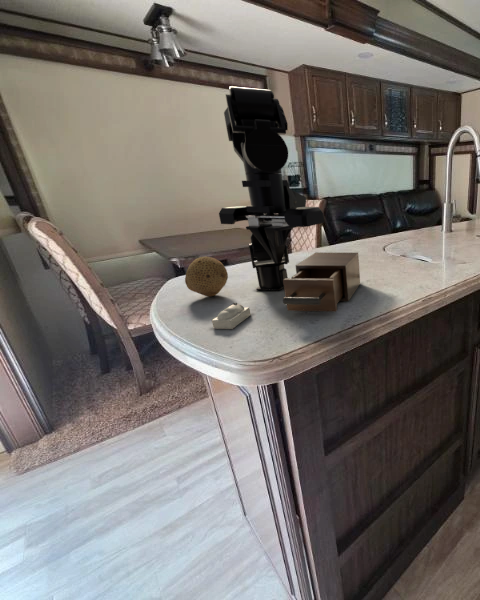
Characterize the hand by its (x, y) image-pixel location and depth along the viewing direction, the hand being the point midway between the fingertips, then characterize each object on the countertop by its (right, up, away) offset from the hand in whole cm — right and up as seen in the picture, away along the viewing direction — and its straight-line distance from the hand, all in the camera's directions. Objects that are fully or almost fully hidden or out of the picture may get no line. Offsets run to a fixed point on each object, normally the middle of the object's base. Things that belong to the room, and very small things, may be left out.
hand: (278, 262), depth 60 cm
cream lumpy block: (-11, -11, +4) cm, 16 cm away
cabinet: (+6, -5, +20) cm, 22 cm away
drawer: (+5, -8, +10) cm, 14 cm away
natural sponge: (-23, -6, +18) cm, 30 cm away
